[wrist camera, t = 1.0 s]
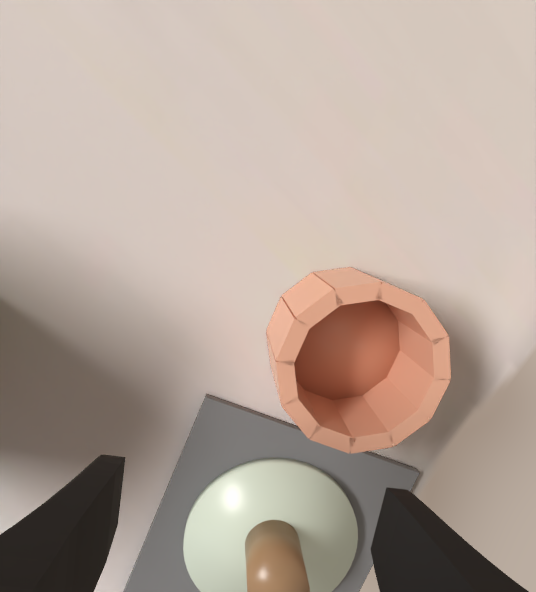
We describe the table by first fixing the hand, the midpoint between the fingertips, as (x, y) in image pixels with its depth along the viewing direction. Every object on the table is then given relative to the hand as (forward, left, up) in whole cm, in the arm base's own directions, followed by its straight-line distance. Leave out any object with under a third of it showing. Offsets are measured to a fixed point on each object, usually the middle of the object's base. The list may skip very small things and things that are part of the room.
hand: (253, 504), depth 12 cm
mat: (-8, -5, -10) cm, 14 cm away
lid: (-8, -5, -10) cm, 13 cm away
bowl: (+3, -4, -10) cm, 11 cm away
